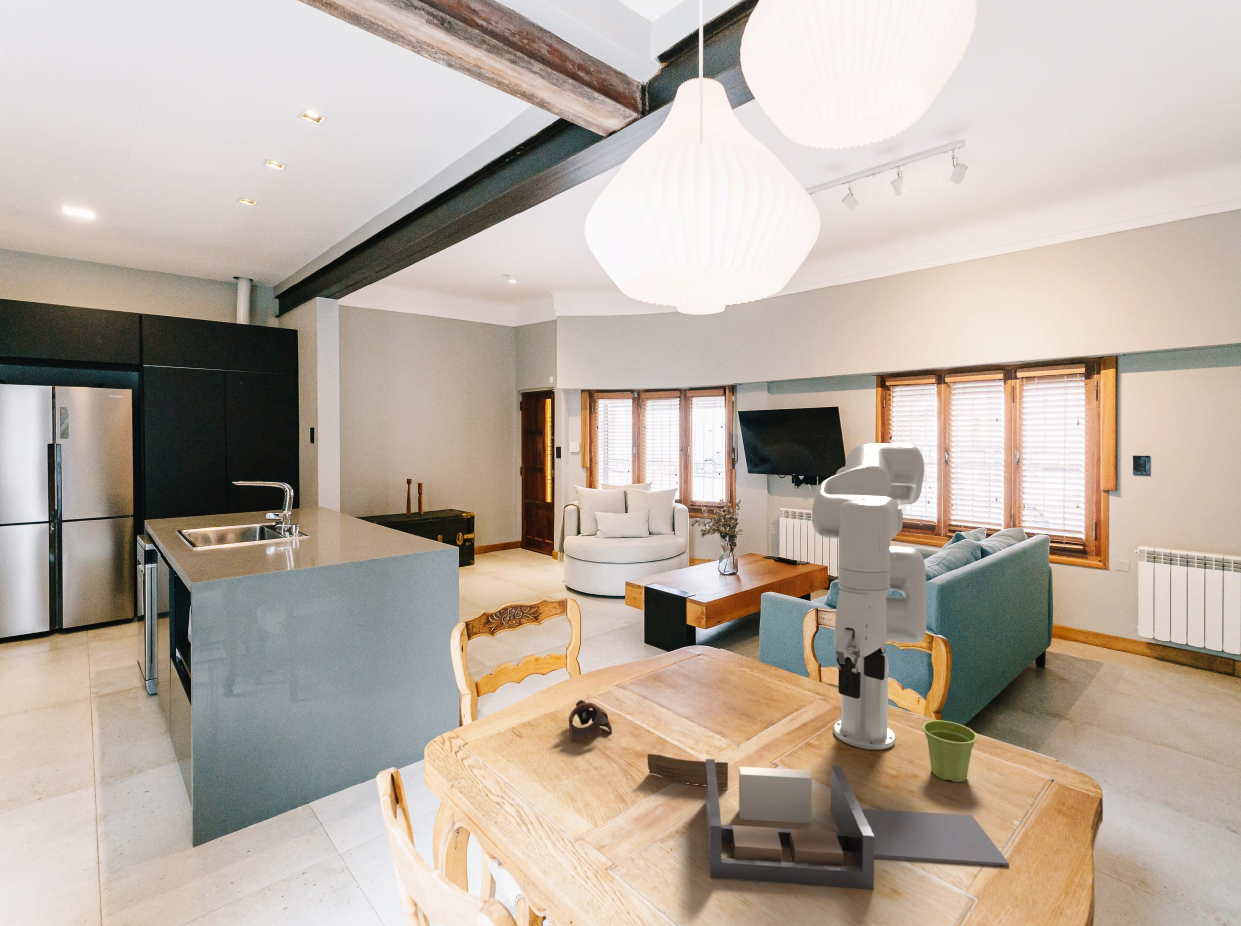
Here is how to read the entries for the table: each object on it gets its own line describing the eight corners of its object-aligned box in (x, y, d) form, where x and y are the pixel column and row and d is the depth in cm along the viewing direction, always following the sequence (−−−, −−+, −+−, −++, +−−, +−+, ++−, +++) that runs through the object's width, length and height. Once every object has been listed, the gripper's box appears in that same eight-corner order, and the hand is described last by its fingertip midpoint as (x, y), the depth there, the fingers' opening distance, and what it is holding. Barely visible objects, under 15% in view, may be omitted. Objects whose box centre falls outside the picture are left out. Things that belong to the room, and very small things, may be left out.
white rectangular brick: (738, 810, 107) (739, 766, 107) (808, 814, 106) (808, 770, 106) (740, 819, 105) (740, 774, 104) (811, 823, 104) (811, 778, 103)
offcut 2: (789, 853, 96) (789, 829, 96) (834, 856, 96) (834, 831, 96) (795, 876, 91) (795, 850, 91) (843, 879, 91) (843, 853, 91)
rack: (705, 802, 110) (705, 759, 109) (839, 810, 107) (840, 765, 107) (710, 877, 91) (710, 825, 90) (873, 889, 88) (874, 836, 88)
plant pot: (911, 766, 121) (911, 724, 121) (946, 758, 125) (946, 716, 124) (951, 792, 113) (952, 746, 112) (987, 782, 116) (988, 737, 116)
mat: (852, 810, 107) (852, 808, 107) (971, 817, 105) (971, 815, 105) (874, 857, 95) (874, 854, 95) (1008, 866, 93) (1008, 863, 93)
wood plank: (728, 785, 115) (728, 759, 115) (727, 791, 113) (727, 765, 113) (649, 774, 119) (649, 749, 119) (647, 779, 117) (647, 754, 117)
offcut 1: (732, 849, 97) (732, 825, 97) (776, 852, 97) (776, 828, 96) (734, 871, 92) (735, 846, 92) (781, 875, 92) (781, 849, 91)
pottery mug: (622, 740, 133) (611, 715, 130) (586, 766, 130) (573, 742, 127) (598, 706, 143) (587, 682, 140) (563, 730, 140) (551, 706, 137)
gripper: (861, 567, 104) (860, 665, 105) (816, 584, 91) (814, 696, 92) (907, 574, 99) (906, 677, 99) (865, 593, 86) (864, 711, 87)
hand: (862, 686), depth 96 cm, fingers open, 9 cm apart
